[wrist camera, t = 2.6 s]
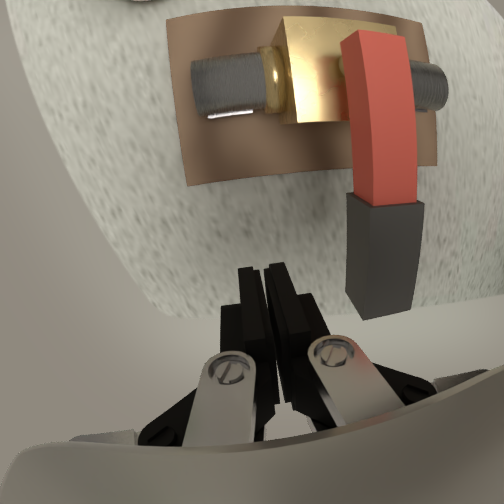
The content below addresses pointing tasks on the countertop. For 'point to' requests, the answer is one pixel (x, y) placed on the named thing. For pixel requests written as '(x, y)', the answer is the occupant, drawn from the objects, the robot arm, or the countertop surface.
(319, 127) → the mounting board
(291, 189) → the countertop surface
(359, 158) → the valve lever
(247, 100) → the ball valve
